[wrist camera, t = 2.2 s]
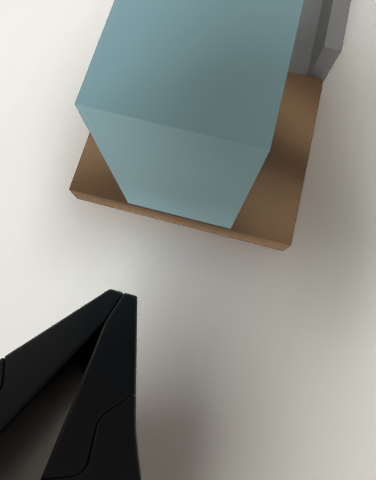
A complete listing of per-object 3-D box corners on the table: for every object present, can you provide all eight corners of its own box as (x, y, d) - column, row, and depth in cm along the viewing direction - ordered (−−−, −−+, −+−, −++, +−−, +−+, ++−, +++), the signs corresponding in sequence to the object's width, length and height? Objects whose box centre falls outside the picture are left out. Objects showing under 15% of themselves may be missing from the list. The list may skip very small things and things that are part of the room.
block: (230, 228, 18) (270, 150, 9) (128, 203, 19) (74, 103, 10) (256, 121, 20) (311, -34, 11) (161, 99, 20) (140, -69, 11)
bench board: (283, 250, 19) (290, 245, 18) (77, 198, 20) (69, 189, 19) (314, 95, 22) (323, 79, 20) (129, 53, 23) (125, 35, 21)
